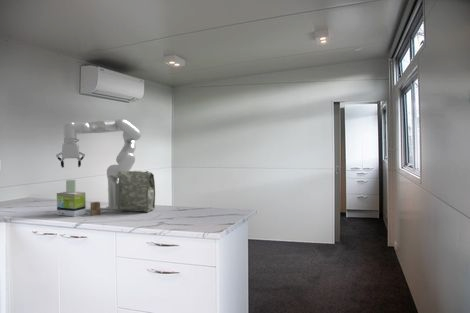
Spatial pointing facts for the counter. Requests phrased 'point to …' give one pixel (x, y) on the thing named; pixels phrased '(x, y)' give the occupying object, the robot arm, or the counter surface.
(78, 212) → the tea box
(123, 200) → the bag
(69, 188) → the green block
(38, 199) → the counter surface
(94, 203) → the walnut block
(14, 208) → the counter surface
